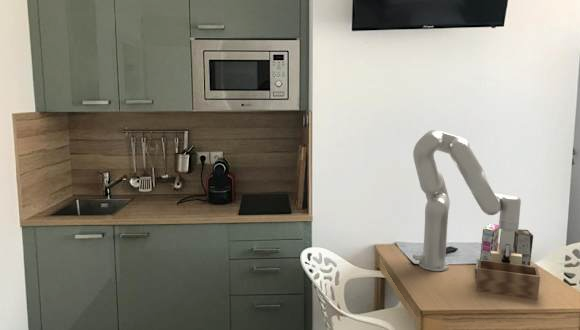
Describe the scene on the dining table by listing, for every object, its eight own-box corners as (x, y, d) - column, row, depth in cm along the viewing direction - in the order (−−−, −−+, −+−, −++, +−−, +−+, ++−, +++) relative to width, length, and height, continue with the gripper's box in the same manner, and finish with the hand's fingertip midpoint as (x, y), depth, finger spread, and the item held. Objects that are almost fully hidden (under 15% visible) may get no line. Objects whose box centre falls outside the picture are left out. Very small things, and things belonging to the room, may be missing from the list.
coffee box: (530, 271, 218) (533, 235, 216) (514, 270, 220) (517, 234, 217) (525, 263, 227) (528, 229, 224) (509, 262, 229) (513, 228, 226)
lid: (475, 273, 211) (477, 255, 210) (476, 263, 222) (477, 246, 221) (536, 281, 203) (538, 262, 202) (533, 270, 214) (535, 252, 213)
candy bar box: (490, 266, 224) (493, 230, 221) (479, 263, 227) (482, 228, 224) (497, 258, 233) (500, 224, 230) (486, 256, 236) (488, 222, 233)
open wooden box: (476, 290, 198) (477, 268, 197) (476, 279, 209) (478, 259, 207) (537, 299, 191) (540, 277, 189) (534, 288, 201) (537, 266, 199)
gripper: (498, 219, 218) (494, 259, 221) (499, 229, 203) (495, 272, 206) (517, 221, 215) (513, 261, 219) (519, 231, 200) (515, 275, 203)
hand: (505, 266), depth 212 cm, fingers closed on lid, 3 cm apart
